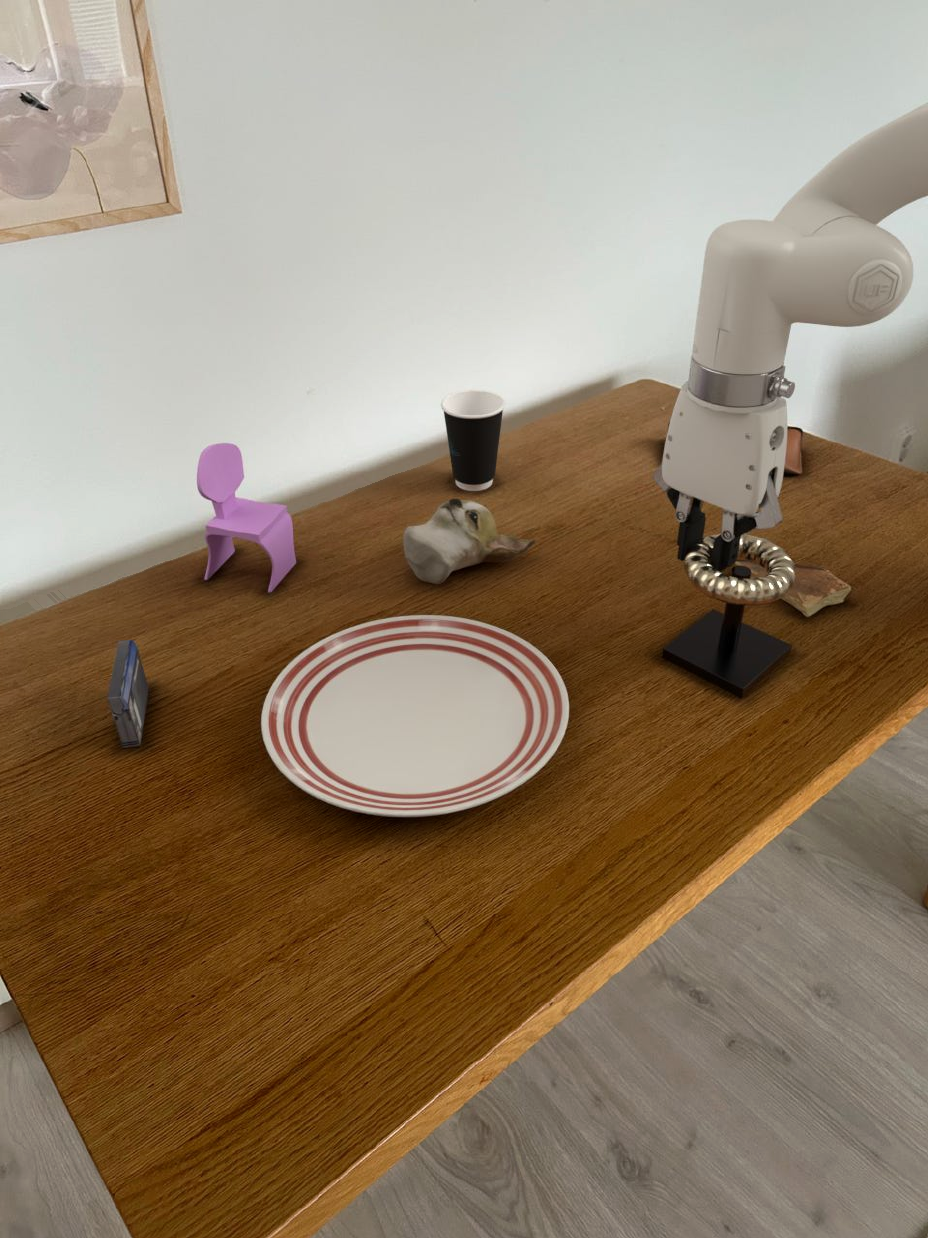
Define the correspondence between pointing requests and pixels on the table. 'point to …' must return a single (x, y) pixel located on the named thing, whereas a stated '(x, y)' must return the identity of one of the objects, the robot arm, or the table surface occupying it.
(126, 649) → the mini dv tape
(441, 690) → the dinner plate
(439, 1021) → the table surface
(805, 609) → the shard
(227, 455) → the toy chair
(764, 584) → the ribbed metal ring
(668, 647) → the stand
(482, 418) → the dixie cup
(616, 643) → the table surface
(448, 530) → the ceramic sculpture
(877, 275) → the robot arm
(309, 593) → the table surface
